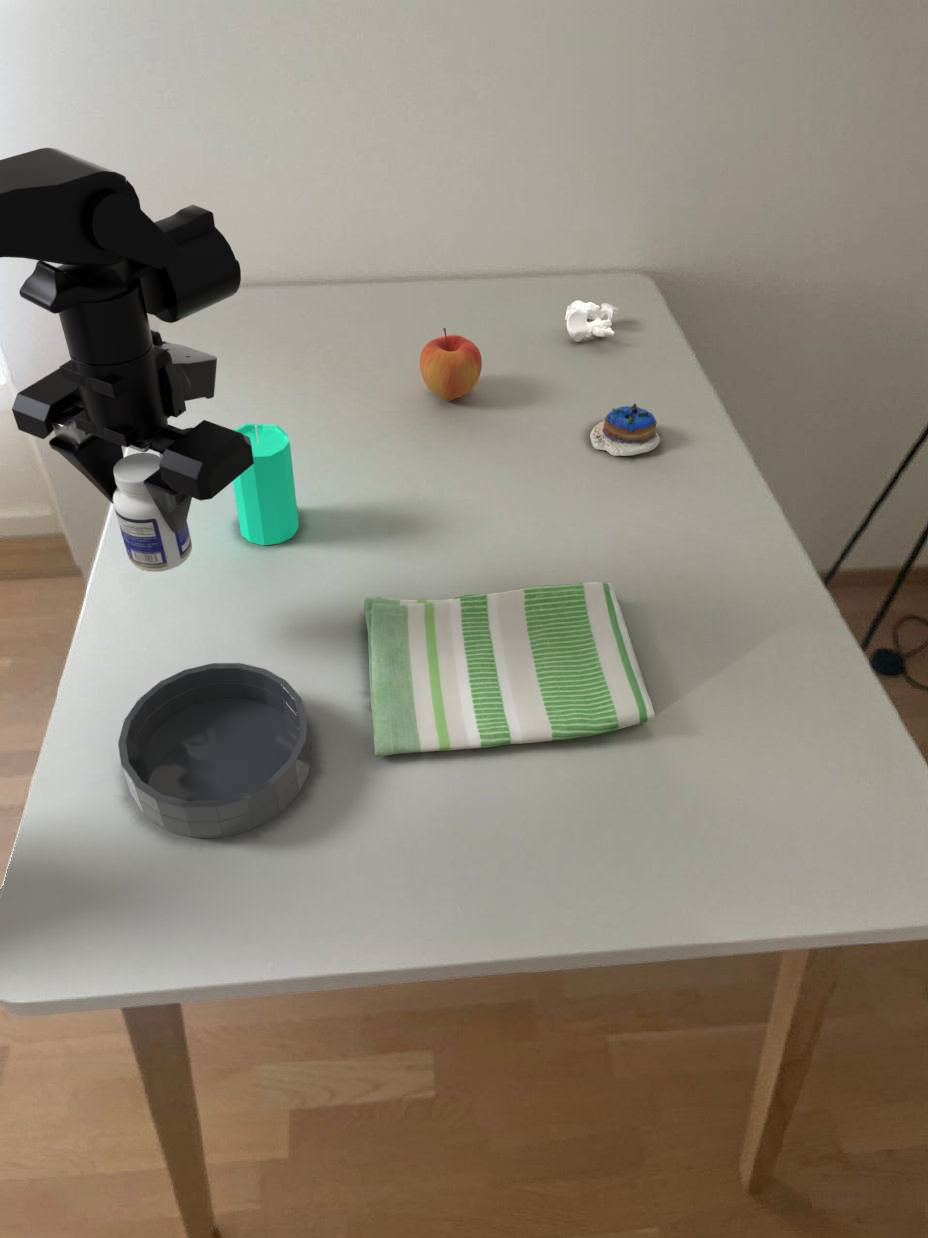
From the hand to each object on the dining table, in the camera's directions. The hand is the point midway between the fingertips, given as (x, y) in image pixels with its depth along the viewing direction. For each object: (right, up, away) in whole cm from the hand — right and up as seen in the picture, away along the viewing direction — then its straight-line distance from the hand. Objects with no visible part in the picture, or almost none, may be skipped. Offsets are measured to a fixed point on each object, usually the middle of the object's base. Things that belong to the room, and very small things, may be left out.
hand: (152, 518), depth 80 cm
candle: (+6, +1, +20) cm, 20 cm away
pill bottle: (0, -3, +3) cm, 4 cm away
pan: (+6, -20, -2) cm, 21 cm away
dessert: (+44, +12, +33) cm, 56 cm away
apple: (+24, +19, +39) cm, 49 cm away
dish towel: (+29, -13, +7) cm, 32 cm away
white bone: (+42, +30, +51) cm, 72 cm away
